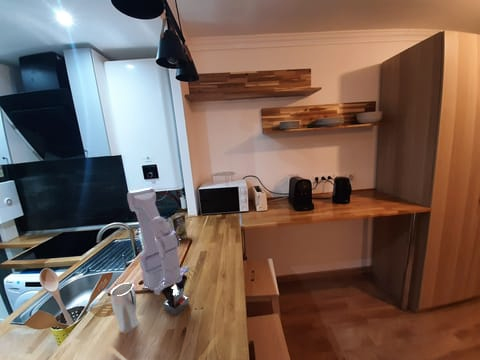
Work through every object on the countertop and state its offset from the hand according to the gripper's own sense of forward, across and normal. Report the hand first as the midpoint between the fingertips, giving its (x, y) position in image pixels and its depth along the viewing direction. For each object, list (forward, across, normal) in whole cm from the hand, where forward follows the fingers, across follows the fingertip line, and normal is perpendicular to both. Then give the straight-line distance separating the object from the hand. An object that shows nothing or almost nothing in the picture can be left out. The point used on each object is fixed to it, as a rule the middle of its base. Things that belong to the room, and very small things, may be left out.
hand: (175, 299), depth 75 cm
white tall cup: (+5, -13, +9) cm, 17 cm away
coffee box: (+5, +43, +46) cm, 63 cm away
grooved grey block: (+3, 0, 0) cm, 3 cm away
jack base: (+4, 0, 0) cm, 4 cm away
